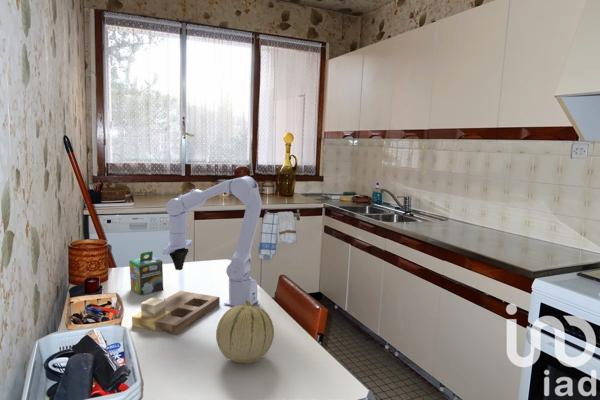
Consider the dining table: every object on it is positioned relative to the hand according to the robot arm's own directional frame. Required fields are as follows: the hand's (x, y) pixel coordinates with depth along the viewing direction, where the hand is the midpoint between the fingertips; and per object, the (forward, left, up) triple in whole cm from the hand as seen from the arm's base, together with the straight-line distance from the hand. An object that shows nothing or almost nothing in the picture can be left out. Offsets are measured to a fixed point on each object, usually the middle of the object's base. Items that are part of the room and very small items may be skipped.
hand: (178, 269), depth 151 cm
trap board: (-9, +13, -10) cm, 19 cm away
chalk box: (+16, -2, -11) cm, 19 cm away
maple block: (-6, +21, -7) cm, 23 cm away
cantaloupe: (-42, +30, -11) cm, 53 cm away
